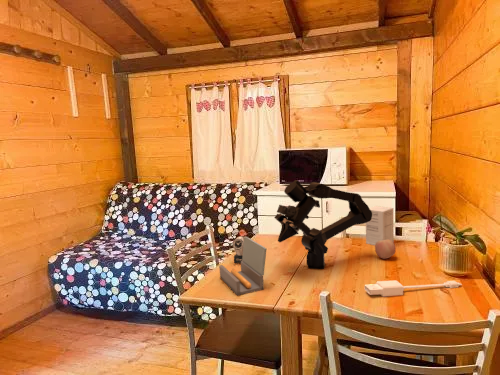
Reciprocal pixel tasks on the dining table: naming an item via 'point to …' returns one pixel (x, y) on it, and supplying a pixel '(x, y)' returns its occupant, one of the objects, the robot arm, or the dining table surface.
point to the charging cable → (400, 287)
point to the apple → (385, 248)
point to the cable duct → (242, 279)
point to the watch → (238, 249)
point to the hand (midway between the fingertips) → (278, 241)
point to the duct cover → (254, 255)
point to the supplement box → (380, 225)
